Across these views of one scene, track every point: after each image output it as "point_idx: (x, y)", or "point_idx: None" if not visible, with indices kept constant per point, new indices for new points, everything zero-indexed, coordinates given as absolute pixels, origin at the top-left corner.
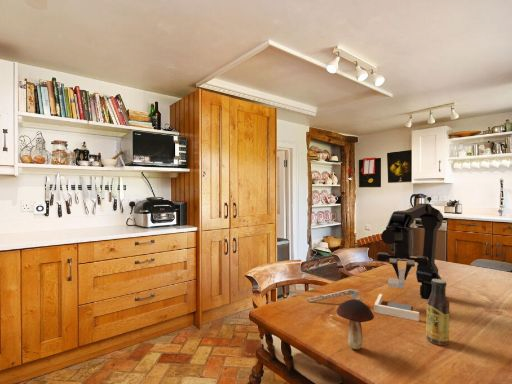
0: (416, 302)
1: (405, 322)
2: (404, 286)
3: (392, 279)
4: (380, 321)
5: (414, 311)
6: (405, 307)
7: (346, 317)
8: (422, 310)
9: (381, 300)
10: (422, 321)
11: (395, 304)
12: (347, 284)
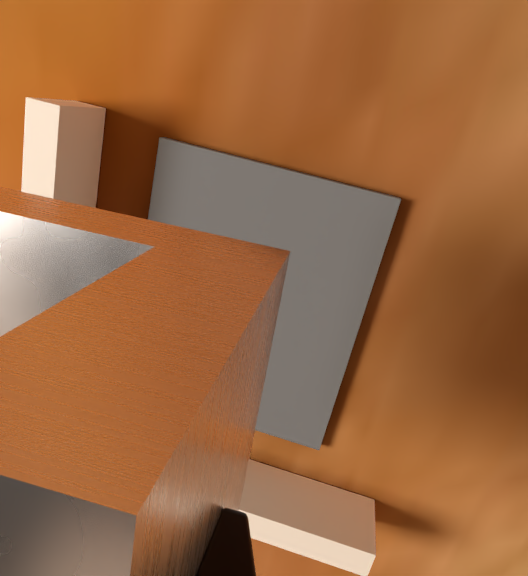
0: (519, 2)
1: (259, 544)
2: (238, 507)
3: (9, 328)
4: None
5: (336, 546)
6: (318, 271)
7: None
8: (492, 276)
9: (82, 188)
10: (396, 514)
11: (227, 212)
12: None
